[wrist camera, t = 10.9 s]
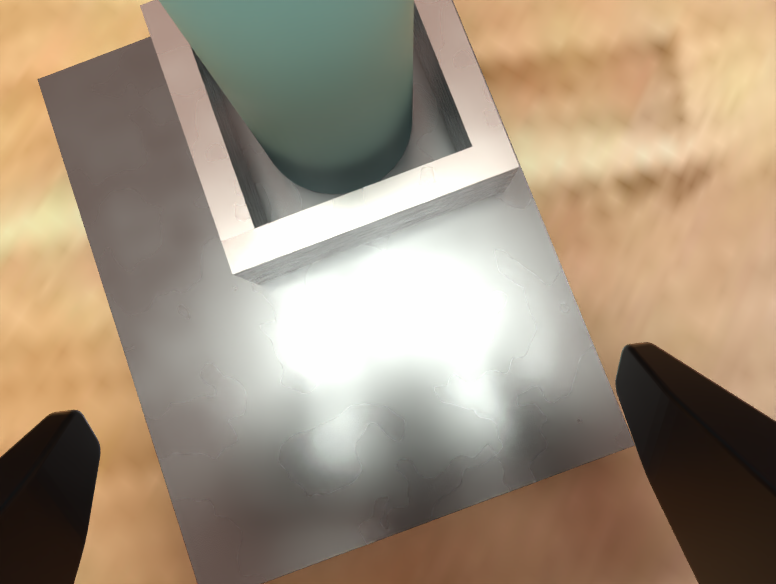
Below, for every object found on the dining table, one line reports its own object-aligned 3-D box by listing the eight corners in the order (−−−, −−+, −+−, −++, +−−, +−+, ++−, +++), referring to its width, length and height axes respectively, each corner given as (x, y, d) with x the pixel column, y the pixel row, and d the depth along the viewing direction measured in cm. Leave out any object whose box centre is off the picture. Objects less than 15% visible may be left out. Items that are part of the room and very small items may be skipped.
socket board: (617, 437, 19) (671, 461, 15) (220, 584, 19) (169, 646, 15) (423, -38, 21) (426, -129, 17) (64, 98, 21) (-18, 40, 17)
